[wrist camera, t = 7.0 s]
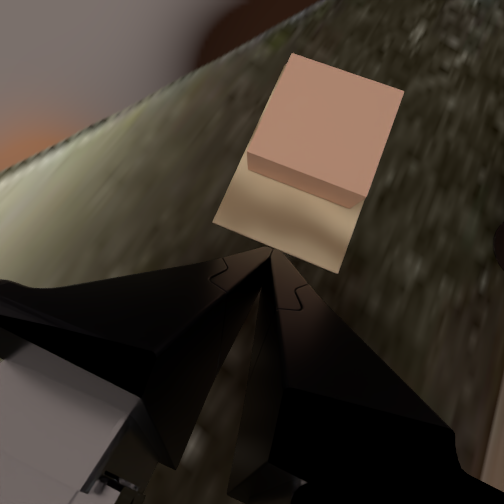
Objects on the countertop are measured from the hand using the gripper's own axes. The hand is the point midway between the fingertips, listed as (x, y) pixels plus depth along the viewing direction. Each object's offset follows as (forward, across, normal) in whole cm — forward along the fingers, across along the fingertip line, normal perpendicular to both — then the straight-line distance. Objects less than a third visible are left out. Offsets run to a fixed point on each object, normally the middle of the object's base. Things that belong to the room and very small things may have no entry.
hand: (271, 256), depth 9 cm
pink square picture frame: (+10, 0, +2) cm, 10 cm away
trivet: (+13, +1, +3) cm, 13 cm away
